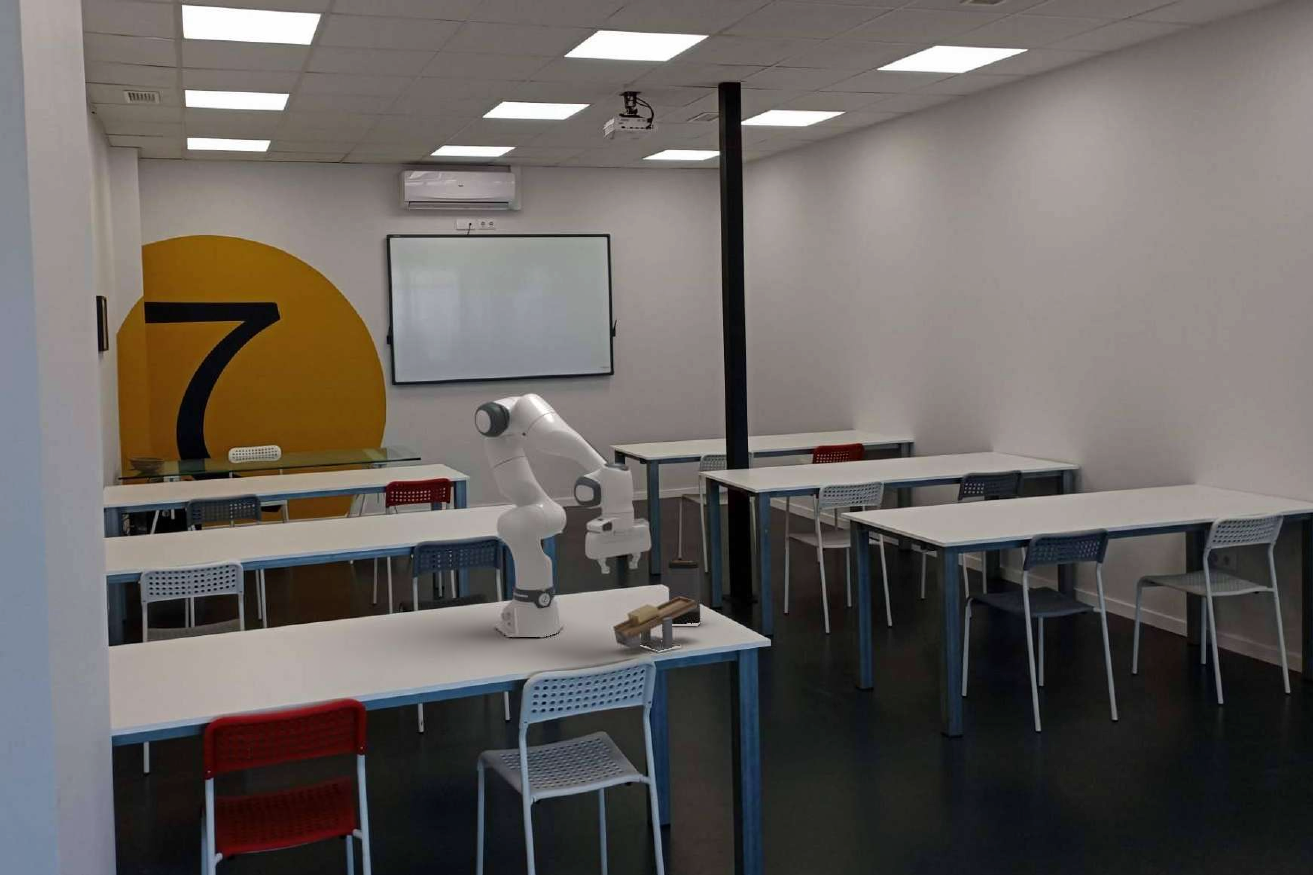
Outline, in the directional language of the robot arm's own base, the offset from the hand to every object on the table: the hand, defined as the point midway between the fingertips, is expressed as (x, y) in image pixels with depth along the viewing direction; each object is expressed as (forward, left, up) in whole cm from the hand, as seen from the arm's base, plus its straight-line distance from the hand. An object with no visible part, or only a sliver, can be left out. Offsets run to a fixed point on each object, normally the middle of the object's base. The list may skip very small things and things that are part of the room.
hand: (619, 570), depth 313 cm
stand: (0, +12, -24) cm, 26 cm away
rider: (0, +8, -16) cm, 18 cm away
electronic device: (-14, +33, -24) cm, 43 cm away
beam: (0, +13, -19) cm, 23 cm away
